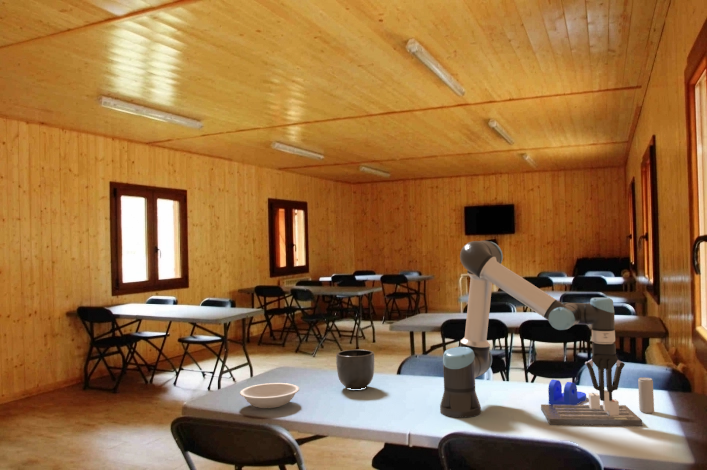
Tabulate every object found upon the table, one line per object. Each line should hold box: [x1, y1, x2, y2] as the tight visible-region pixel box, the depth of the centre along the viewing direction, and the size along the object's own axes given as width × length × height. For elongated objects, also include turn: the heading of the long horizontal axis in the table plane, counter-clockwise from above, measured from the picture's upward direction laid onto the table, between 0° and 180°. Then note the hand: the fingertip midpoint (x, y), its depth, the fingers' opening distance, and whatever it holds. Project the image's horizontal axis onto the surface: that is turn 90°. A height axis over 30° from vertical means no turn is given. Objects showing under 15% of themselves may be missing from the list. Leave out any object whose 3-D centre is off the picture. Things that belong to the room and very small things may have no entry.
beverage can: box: [637, 376, 655, 414], centre depth 209 cm, size 5×5×12 cm
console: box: [540, 404, 643, 427], centre depth 205 cm, size 30×18×3 cm, turn 81°
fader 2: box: [607, 398, 620, 415], centre depth 200 cm, size 3×3×5 cm
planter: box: [335, 349, 375, 389], centre depth 257 cm, size 17×17×16 cm
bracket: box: [547, 379, 587, 405], centre depth 226 cm, size 18×8×9 cm, turn 135°
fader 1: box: [588, 392, 601, 409], centre depth 208 cm, size 3×3×5 cm
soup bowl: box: [239, 382, 300, 409], centre depth 233 cm, size 24×24×7 cm
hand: (606, 409), depth 200 cm, fingers closed
